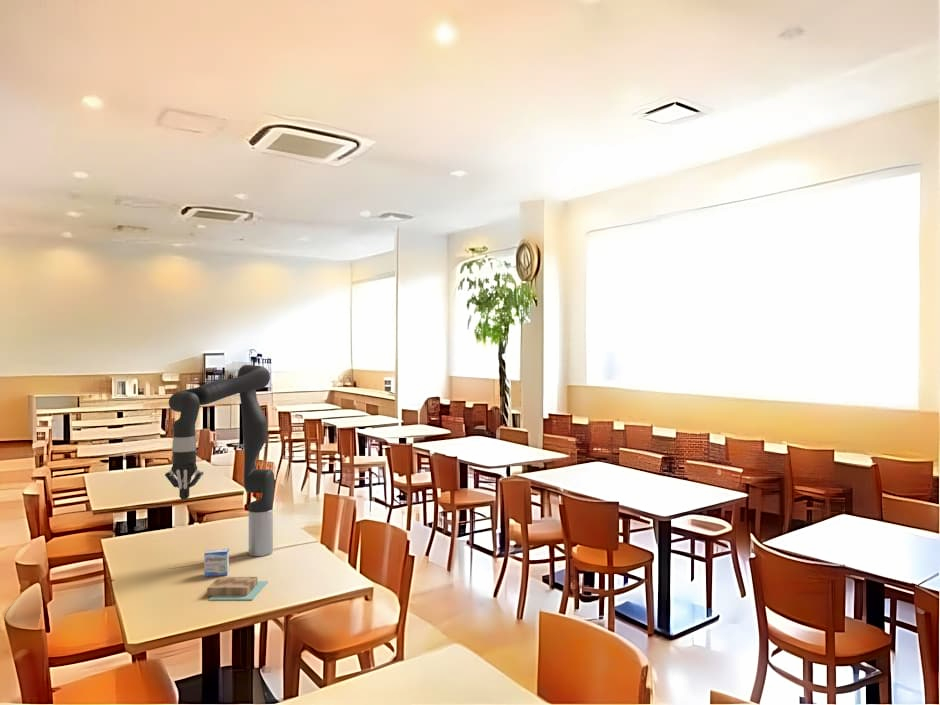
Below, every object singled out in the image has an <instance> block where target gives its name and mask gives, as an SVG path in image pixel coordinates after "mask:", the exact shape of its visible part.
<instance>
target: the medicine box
mask: <svg viewBox="0 0 940 705" xmlns="http://www.w3.org/2000/svg"><path fill="white" fill-rule="evenodd" d="M229 551H230V549H229V548H219V549H218V548H216V549H206V550H205V552H204V557H203V558H204V560H203V561H204V566H203V567H204V568H203V573H204V574H203V576H204V578H213V577H212V576H215V577H223V576H222V575H225V576H228V574H229V571H230V567H229V564H230V561H229V560H230V558H229V557H230V553H229Z"/></svg>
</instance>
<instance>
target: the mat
mask: <svg viewBox="0 0 940 705" xmlns="http://www.w3.org/2000/svg"><path fill="white" fill-rule="evenodd" d="M268 583H269V581H268V580H257V585H256V586H255V587H254V589H253V590H252V591H251V592H250V593H249V594H248V595H247V596H210V597H209V599H208V601H210V600H212V601H213V602H214V601H217V600H221V602H222V601H223V602H224V601H225V602H226V600H227V601H253V600H254V599H255V598H256V596H257V595H258V594H259V593H261V591H262V590H263V589H264V588H265V586H266V585H267V584H268ZM262 588H263V589H262ZM210 602H211V601H210Z"/></svg>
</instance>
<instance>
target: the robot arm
mask: <svg viewBox="0 0 940 705" xmlns="http://www.w3.org/2000/svg"><path fill="white" fill-rule="evenodd" d="M270 380H271V374H270V371H269V370H268V369H267V368H266V367H264V366H261V365H255V364H253V365H251V364H244V365H241V367H240V368H239V369H238V371H237V377H232V378H225V379H220V380H214V381H212V382H208V383H204V384H202V385H200V386H196V387H192V388H187V389H183V390H179V391H176V392H174V393H173V394H171V395H170V397H169V398H168V406H169V409H171V410H172V411H174V412H175V413H176V412H177V413H180V415H179V419H175V421H174V422H173V427H172V428H173V429H172V436H173V437H172V446H171V450H172V451H171V452H172V459H171V460H172V466H171V470H169V471H168V472H165V474H164V477H166V479H167V480H168V481H169V483H170V484H171V485H172V486H173V487H174V488H178V489H179V498H180V499H181V500H183V501H184V500H185V501H186V500H188V498H190V488H192V487H194V486H196V484H197V483H198V482H199V480H200V479H201V478H202V476H204V471H200V470H199V469H198V466H197V439H196V422H197V419H198V415H199V412H200V407H201V406H207V405H209V404H212V403H215V402H217V401H220V400H222V399H225V398H229V397H231V396H234V395H238V394H239V398H240V400H239V401H240V406H241V407H240V408H241V418H242V421H241V422H242V423H241V428H242V442H243V453H244V454H243V456H244V458H243V460H244V462H243V464H244V465H243V466H244V467H243V486H244V489H245V491H246V492H247V493H250V494H251V493H252V494H261V497H260V498H258V499H256V500H254V501H251V502H249V504H248V555H249V556H251V557H263V556H265V557H266V556H269V555H271V554H273V552H274V516H273V515H274V509H273V508H274V498H275V474H274V472H273V470H271V469H259V468H258V469H257V468H256V465H257V464H256V463H257V458H258V455H259V454H260V452H261V450H262V448H263V446H264V445H265V443H266V442H267V439H268V421H267V417H266V416H265V413H264V411H263V409H262V408H261V406H260V403H259V401H258V397H257V390H262V389H264V388H265V387H266V386H268V385H269V383H270ZM193 476H194V478H193ZM268 554H269V555H268Z"/></svg>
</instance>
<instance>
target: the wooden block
mask: <svg viewBox="0 0 940 705" xmlns="http://www.w3.org/2000/svg"><path fill="white" fill-rule="evenodd" d="M257 581H258V576H218V577H217V578H216V579H215V580H214V581H213V582H212V583H211V584H209V586H207V588H206V589H207V590H206V593H207V594H206V596H207V597H212V596H247V595H248V594H249V593H250V592H251V591H252V590H253V589H254V587H255V586H256V585H257Z"/></svg>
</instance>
